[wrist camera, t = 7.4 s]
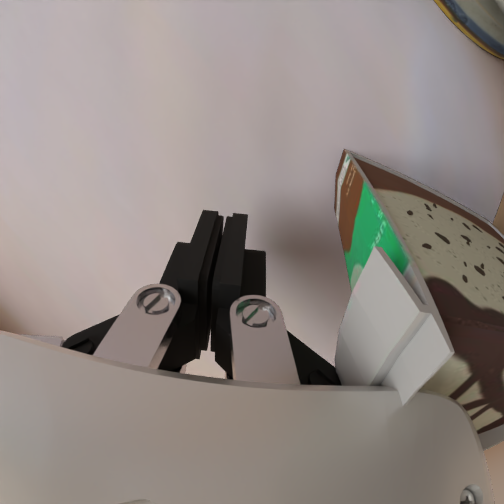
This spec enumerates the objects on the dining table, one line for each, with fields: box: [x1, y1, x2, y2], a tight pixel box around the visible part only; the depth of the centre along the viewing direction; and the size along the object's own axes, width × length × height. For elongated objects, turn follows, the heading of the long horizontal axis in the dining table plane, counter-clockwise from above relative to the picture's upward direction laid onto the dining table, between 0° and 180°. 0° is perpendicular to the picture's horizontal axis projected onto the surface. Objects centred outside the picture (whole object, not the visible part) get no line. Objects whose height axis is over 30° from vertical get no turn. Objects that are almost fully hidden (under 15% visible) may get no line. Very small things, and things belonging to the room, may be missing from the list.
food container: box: [334, 149, 504, 451], centre depth 9 cm, size 12×6×10 cm, turn 73°
